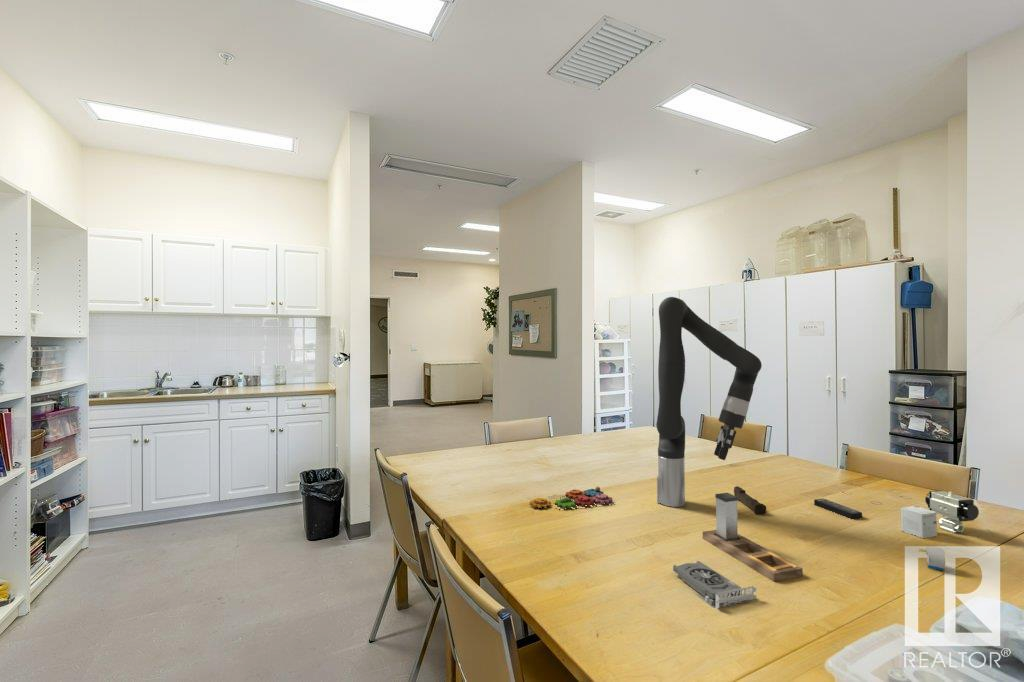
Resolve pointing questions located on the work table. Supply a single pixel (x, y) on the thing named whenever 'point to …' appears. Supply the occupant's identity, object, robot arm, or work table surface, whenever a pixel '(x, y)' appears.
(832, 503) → the multiport hub
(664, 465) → the robot arm
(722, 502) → the peg
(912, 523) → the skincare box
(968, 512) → the pneumatic valve
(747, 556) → the rail
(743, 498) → the hand tool
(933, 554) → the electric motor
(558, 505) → the gear puzzle
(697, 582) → the graphics card
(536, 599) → the work table surface
